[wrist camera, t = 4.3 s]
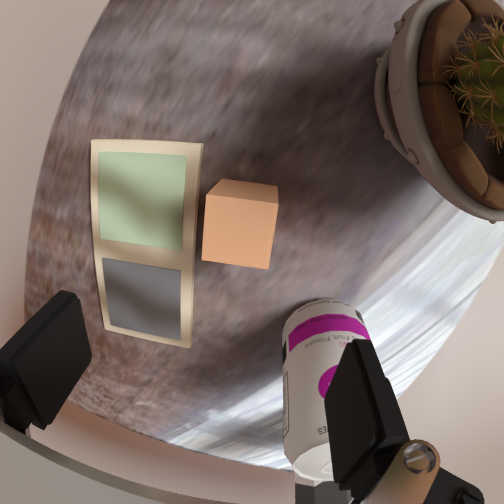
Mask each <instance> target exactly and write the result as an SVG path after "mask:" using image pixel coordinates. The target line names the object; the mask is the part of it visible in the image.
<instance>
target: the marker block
mask: <svg viewBox="0 0 504 504" xmlns="http://www.w3.org/2000/svg"><path fill="white" fill-rule="evenodd" d="M278 205H279V201H278V189H277V186H274V185H267V184H259V183H252V182H244V181H236V180H228V179H221V180H220V181H219V182H218V183H217V184H216V185H215V186H214V187H213V188H212V189H211V190H210V191H209V192H208V193H207V194H206V205H205V217H204V231H203V246H202V260H206V261H212V262H219V263H226V264H233V265H240V266H247V267H254V268H261V269H268V268H269V262H270V255H271V249H272V243H273V237H274V231H275V224H276V218H277V212H278Z"/></svg>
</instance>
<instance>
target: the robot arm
mask: <svg viewBox="0 0 504 504" xmlns="http://www.w3.org/2000/svg"><path fill="white" fill-rule="evenodd" d="M91 358H92V353H91V349H90V345H89V341H88V337H87V332H86V328H85V323H84V318H83V313H82V308H81V303H80V300H79V299H78V298H77V296H76V294H75V293H72V292H68V291H64V290H61V291H59V292H58V293H57V294H56V295H55V296H54V297H53V298H51V299H50V300H49V301H48V302H47V303H46V304H45V305H44V306H43V307H42V308H41V309H40V310H39V311H38V312H37V313H36V314H35V315H34V316H33V317H32V318H30V319H29V320H28V321H27V322H26V323H25V324H24V325H23V326H22V328H21V329H19V330H18V332H16V334H15V335H14V336H13V337H12V338H11V339H10V340H9V341H8V342H7V343H6V344H5V345H4V346H3V347H2V348H1V349H0V504H236V503H228V502H221V501H214V500H208V499H202V498H196V497H191V496H186V495H182V494H177V493H172V492H168V491H164V490H160V489H156V488H153V487H149V486H146V485H142V484H139V483H135V482H132V481H128V480H126V479H123V478H119V477H117V476H114V475H111V474H108V473H106V472H103V471H100V470H98V469H95V468H93V467H90V466H88V465H85V464H83V463H80V462H78V461H76V460H74V459H71V458H69V457H67V456H65V455H63V454H60V453H58V452H56V451H54V450H52V449H50V448H48V447H46V446H44V445H42V444H41V443H39V442H37V441H35V440H33V439H31V435H30V430H29V425H30V424H31V422H32V424H33V425H35V426H37V427H38V428H40V429H43V430H45V428H46V426H47V425H50V424H51V423H52V422H53V420H54V419H55V417H56V415H57V414H58V412H59V410H60V409H61V407H62V405H63V404H64V402H65V401H66V399H67V397H68V396H69V394H70V393H71V391H72V390H73V388H74V386H75V385H76V383H77V382H78V380H79V379H80V377H81V376H82V374H83V373H84V371H85V370H86V368H87V367H88V365H89V364H90V362H91ZM324 406H325V414H326V421H327V429H328V437H329V445H330V453H331V462H332V471H333V480H334V482H335V483H339V491H344V490H350V491H351V497H353V498H352V499H351V501H350V502H349V503H348V504H484V497H483V494H482V493H481V491H480V490H479V489H478V488H477V487H475V486H474V485H472V484H470V483H468V482H466V481H464V480H462V479H460V478H458V477H457V476H455V475H453V474H451V473H449V472H448V471H446V470H444V469H443V468H441V467H440V456H439V453H438V451H437V450H436V448H435V447H434V446H433V445H432V444H430V443H429V442H426V441H424V440H416V439H415V440H410V438H409V435H408V432H407V429H406V426H405V423H404V420H403V417H402V414H401V411H400V408H399V406H398V403H397V400H396V397H395V394H394V392H393V389H392V386H391V384H390V381H389V380H388V379H387V378H386V377H385V375H384V373H383V370H382V367H381V365H380V362H379V360H378V357H377V354H376V352H375V349H374V347H373V344H372V342H371V340H369V339H353V340H352V342H351V343H350V342H348V343H347V344H346V346H345V348H344V351H343V354H342V356H341V359H340V361H339V364H338V366H337V369H336V371H335V373H334V376H333V378H332V380H331V383H330V385H329V387H328V390H327V392H326V394H325V398H324Z"/></svg>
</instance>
